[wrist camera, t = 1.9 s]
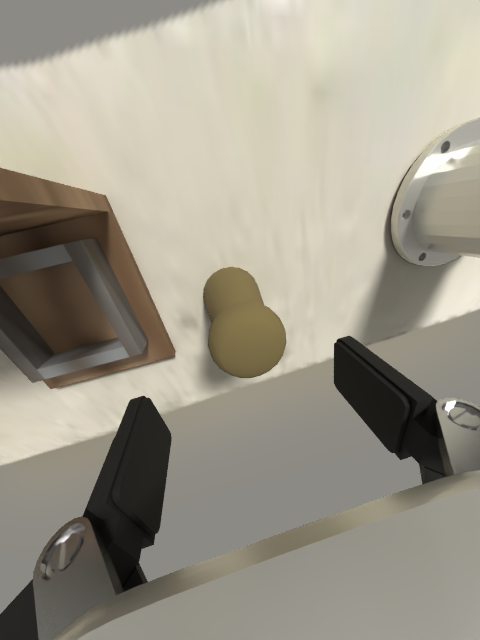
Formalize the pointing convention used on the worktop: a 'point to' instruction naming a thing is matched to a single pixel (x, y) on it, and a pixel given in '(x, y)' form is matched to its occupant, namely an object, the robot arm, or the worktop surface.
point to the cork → (241, 325)
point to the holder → (70, 286)
